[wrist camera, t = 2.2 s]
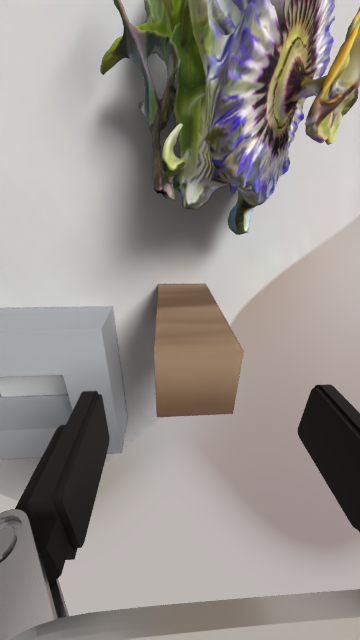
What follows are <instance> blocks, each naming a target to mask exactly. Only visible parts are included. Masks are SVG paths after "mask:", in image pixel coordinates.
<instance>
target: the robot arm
mask: <svg viewBox="0 0 360 640" xmlns="http://www.w3.org/2000/svg"><path fill="white" fill-rule="evenodd" d="M298 435H299V437H300V439H301V441H302V443H303V444H304V446H305V448H306V449H307V451H308V453H309V454H310V456H311V458H312V459H313V461H314V463H315V464H316V466H317V467H318V469H319V471H320V473H321V474H322V476H323V478H324V479H325V481H326V483H327V484H328V486H329V488H330V489H331V491H332V493H333V494H334V496H335V498H336V499H337V501H338V503H339V504H340V506H341V508H342V509H343V511H344V513H345V515H346V516H347V518H348V520H349V521H350V523H351V524H352V526H353V527H354V528H356V529H358V530H359V532H360V413H359V412H358V411H357V410H356V409H355V408H354V407H353V406H352V405H351V404H350V403H349V402H348V401H347V400H346V399H345V398H344V397H343V396H342V395H341V394H340V393H339V392H338V391H337V390H336V388H335V387H333V386H332V385H316V386H315V387H314V388H313V389H312V390H311V393H310V396H309V399H308V401H307V404H306V407H305V410H304V413H303V416H302V418H301V421H300V424H299V427H298ZM109 440H110V437H109V431H108V425H107V420H106V414H105V409H104V403H103V397H102V395H101V394H98V392H97V391H83V392H82V393H81V395H80V397H79V399H78V401H77V403H76V405H75V407H74V409H73V411H72V413H71V415H70V417H69V419H68V421H67V423H66V425H60V426H59V427H58V428H57V429H56V431H55V433H54V435H53V437H52V439H51V441H50V442H49V444H48V446H47V448H46V450H45V452H44V454H43V456H42V458H41V460H40V462H39V464H38V466H37V468H36V469H35V471H34V473H33V475H32V477H31V479H30V481H29V483H28V485H27V487H26V489H25V491H24V493H23V494H22V496H21V498H20V500H19V502H18V504H17V506H16V508H15V509H11V510H8V511H4V512H2V513H0V640H360V589H358V590H344V591H332V592H331V591H330V592H317V593H306V594H292V595H279V596H267V597H255V598H243V599H230V600H218V601H206V602H194V603H184V604H171V605H160V606H148V607H138V608H129V609H120V610H111V611H102V612H93V613H86V614H81V615H75V616H70V617H69V615H68V611H67V608H66V604H65V601H64V598H63V594H62V591H61V587H60V584H59V581H58V578H59V576H60V575H61V573H62V570H63V566H64V563H65V560H71V559H75V555H76V552H77V548H81V547H82V546H83V543H84V541H85V537H86V533H87V529H88V525H89V521H90V517H91V513H92V509H93V505H94V501H95V497H96V494H97V489H98V486H99V482H100V478H101V474H102V470H103V466H104V462H105V458H106V454H107V450H108V446H109Z"/></svg>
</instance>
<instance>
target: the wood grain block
mask: <svg viewBox="0 0 360 640" xmlns="http://www.w3.org/2000/svg"><path fill="white" fill-rule="evenodd" d="M243 352H244V351H243V349H242V347H241V345H240V343H239V342H238V340H237V338H236V336H235V335H234V333H233V331H232V329H231V327H230V326H229V324H228V322H227V320H226V319H225V317H224V315H223V313H222V312H221V310H220V308H219V306H218V305H217V303H216V301H215V299H214V298H213V296H212V294H211V292H210V291H209V289H208V287H207V285H206V284H159V285H158V299H157V314H156V329H155V344H154V366H155V388H156V410H157V417H171V416H191V415H192V416H193V415H215V414H233V410H234V404H235V397H236V392H237V387H238V381H239V375H240V370H241V363H242V357H243Z"/></svg>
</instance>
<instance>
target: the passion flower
mask: <svg viewBox="0 0 360 640" xmlns="http://www.w3.org/2000/svg"><path fill="white" fill-rule="evenodd" d="M144 2H145V10H146V13H147V21H146V23H144V24H140V25H137V26H135V27H133V26H132V25H131V24H130V23H129V21H128V18H127V16H126V13H125V10H124V7H123V5H122V3H121V0H114V4H115V6H116V7H117V9H118V10H119V12H120V15H121V18H122V21H123V25H124V33H123V36H122V37H119V38H118V39H116V41H115V42H114V43H113V44H112V46H111V47H110V49H109V50H108V51H107V52H106V53H105V55H104V57H103V60H102V64H101V73H102V74H103V75H104V74H105V73H106V72H107V71H108V70H109V69H111V68H112V67H113V66H114V65H115V64H116V63H117V62H118V61H120V60H121V59H123V58H129V59H132V60H134V61H135V62H136V63H137V64H138V66H139V68H140V70H141V72H142V74H143V77H144V86H145V90H144V101H143V104H142V103H141V102H140V103H139V107H140V108H141V110H142V113H143V114H144V115H145V117H146V118H147V120H148V124H149V128H150V131H151V132H152V133H153V134H152V137H153V145H152V146H153V164H154V166H153V182H154V190H155V191H156V192H157V193H162V195H163V196H164V197H165V198H168V199H174V201H175V197H174V193H175V192H174V189H173V188H175V189H177V190H178V191H179V192H180V194H181V197H182V201H183V208H186V209H198V208H200V207H201V206H202V205H203V204H204V203H205V202H206V201H208V200H209V198H210V196H211V194H212V193H213V192H214V191H216V190H217V189H218V188H220V187H223V186H230V193H231V194H234V193H235V191H236V189H237V190H238V201H237V203H236V205H235V206H234V207H233V209H232V210H231V211H230V214H229V217H228V225H229V228H230V229H231V230H232V231H233V232H234V233H235V234H237V235H240V234H243V233H247V232H248V229H249V221H250V216H251V213H252V210H253V208H254V207H255V206H257V205H261V204H262V203H264V202H265V201H266V200H267V199H268V198H269V196H270V195H272V194H273V191H274V189H275V187H276V184H277V181H278V178H279V177H280V176H281V175H283V174H284V173H285V172H287V171H288V168H289V165H290V160H289V158H288V148H289V146H290V143H291V142H292V141H293V139H294V133H295V132H296V130H297V128H298V124H299V122H300V121H301V120H303V119H304V114H303V112H302V109H303V104H304V101H305V99H306V98H307V97H310V96H313V95H315V96H317V97H316V98H315V100H314V102H313V104H312V106H311V108H310V110H309V113H308V116H307V119H306V122H305V125H306V134H307V135H308V136H309V137H310V138H312V139H313V140H315V141H317V142H319V143H323V142H324V141H325V142H326V143H327V144H328V145H329V144H331V143H332V142H334V140H335V137H336V133H337V131H338V126H339V124H340V121H341V119H342V116H343V115H345V114H346V113H347V112H348V111H349V110H350V108H351V107H352V106H353V105H354V103H355V102H356V100H357V99H358V88H359V86H360V8H359V10H358V13H357V14H356V16H355V18H354V19H353V21H352V23H351V25H350V26H349V28H348V31H347V35H346V39H345V42H344V43H343V44H342V46H341V47H340V50H339V52H338V54H337V56H336V58H335V60H334V62H333V64H332V66H331V68H330V70H329V72H328V75H326V76H324V77H321V76H322V75H323V74H324V72H325V70H326V68H327V65H328V63H329V62H330V57H329V54H330V50H331V47H332V44H333V41H334V40H333V37H331V35H330V33H329V27H330V25H331V23H332V22H333V20H335V16H334V17H333V19H332V20H331V21H330V22H328V20H329V17H330V15H331V14H332V12H333V9H334V7H335V5H334V2H335V0H144ZM152 53H157V54H158V55H159V57H160V58H161V59H162V60H163V61H164V62H165V63H166V64H167V70H168V79H167V84H166V88H165V92H164V95H163V98H162V99H161V100H159V99H158V96H157V93H156V90H155V87H154V85H153V82H152V79H151V76H150V73H149V69H148V65H147V58H148V56H149V55H150V54H152ZM175 73H176V75H177V88H176V90H175V87H174V80H175ZM173 108H174V112H175V117H176V125H177V126H176V127H175V129H174V130H173V131H172V132H171V133H170V135H169V136H168V138H167V139H166V141H165V143H164V147H163V152H162V167H163V170H164V171H165V173H164V175H163V174H162V170H161V154H160V149H161V146H160V132H161V130H162V129H163V128H164V127H165V126H166V124H167V122H168V120H169V115H170V113H171V111H172V109H173ZM177 140H178V143H179V146H180V151H181V155H180V159H179V158H177V157H176V156H175V155H174V152H173V147H174V146H175V144H176V141H177Z"/></svg>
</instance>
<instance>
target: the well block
mask: <svg viewBox="0 0 360 640" xmlns="http://www.w3.org/2000/svg"><path fill="white" fill-rule="evenodd" d="M44 375H63V378H64V381H65V385H66V388H67V392H68V395H52V396H25V397H1V395H0V460H3V459H21V458H39V457H42V456H43V454H44V452H45V450H46V448H47V446H48V444H49V442H50V441H51V439H52V437H53V435H54V433H55V431H56V429H57V428H58V427H59V426H60V425H66V423H67V421H68V419H69V417H70V415H71V413H72V411H73V409H74V407H75V405H76V403H77V401H78V399H79V397H80V395H81V393H82V392H83V391H97V392H98V394H101V395H102V397H103V403H104V409H105V414H106V420H107V425H108V431H109V437H110V440H109V446H108V450H107V454H112V453H122V448H123V443H124V437H125V431H126V425H127V419H128V418H127V410H126V403H125V395H124V387H123V380H122V372H121V364H120V357H119V349H118V342H117V334H116V326H115V319H114V311H113V307H44V308H0V377H12V376H44Z"/></svg>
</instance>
